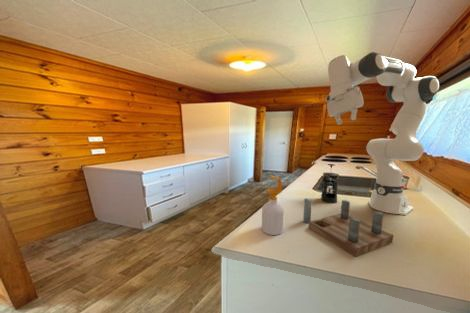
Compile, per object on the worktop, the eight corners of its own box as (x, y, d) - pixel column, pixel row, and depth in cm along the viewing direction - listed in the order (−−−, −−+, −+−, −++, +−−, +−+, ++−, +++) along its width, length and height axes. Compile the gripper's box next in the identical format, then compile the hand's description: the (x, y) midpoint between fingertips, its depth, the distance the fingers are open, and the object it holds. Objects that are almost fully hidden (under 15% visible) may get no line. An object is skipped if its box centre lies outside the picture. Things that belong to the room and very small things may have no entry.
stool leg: (306, 219, 96) (308, 198, 95) (311, 222, 94) (313, 200, 92) (301, 220, 95) (303, 199, 94) (306, 223, 92) (308, 201, 91)
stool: (342, 218, 97) (343, 197, 96) (392, 242, 77) (395, 215, 76) (308, 227, 88) (309, 204, 87) (355, 256, 68) (358, 227, 67)
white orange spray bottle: (259, 225, 90) (260, 173, 87) (279, 224, 91) (280, 173, 88) (264, 236, 81) (265, 178, 78) (285, 235, 82) (288, 177, 79)
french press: (330, 204, 116) (333, 166, 113) (316, 199, 124) (319, 163, 121) (342, 201, 122) (345, 164, 119) (328, 196, 130) (330, 162, 126)
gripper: (365, 82, 80) (370, 116, 80) (335, 98, 101) (339, 125, 100) (351, 84, 80) (356, 117, 80) (323, 100, 100) (327, 126, 100)
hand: (346, 122), depth 90 cm, fingers open, 8 cm apart
